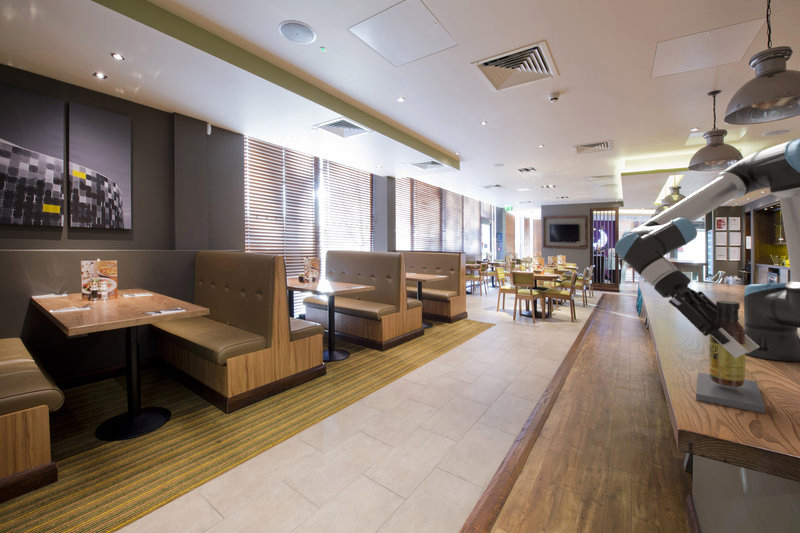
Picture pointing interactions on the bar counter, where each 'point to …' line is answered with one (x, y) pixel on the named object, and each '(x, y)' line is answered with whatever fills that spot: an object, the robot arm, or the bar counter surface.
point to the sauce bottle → (721, 361)
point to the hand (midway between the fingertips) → (747, 352)
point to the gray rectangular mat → (730, 394)
